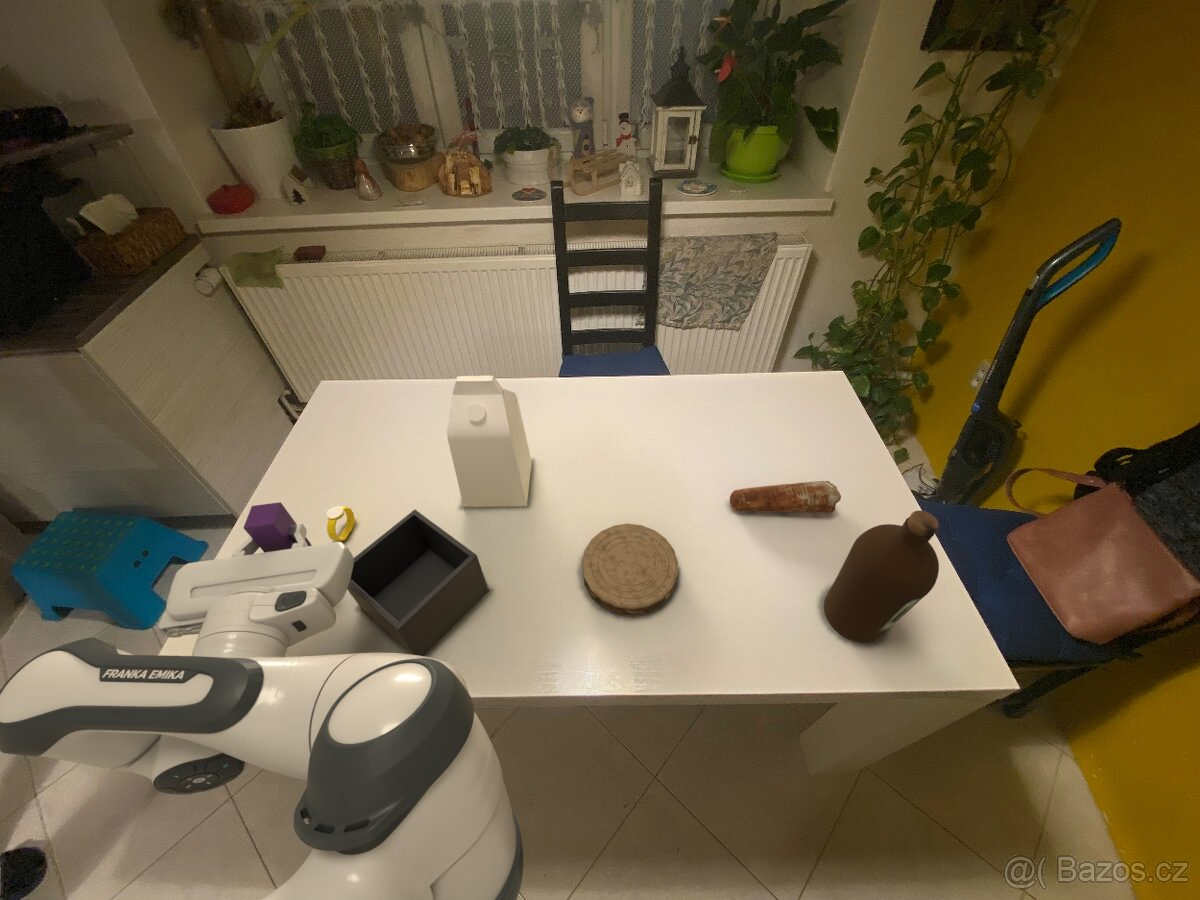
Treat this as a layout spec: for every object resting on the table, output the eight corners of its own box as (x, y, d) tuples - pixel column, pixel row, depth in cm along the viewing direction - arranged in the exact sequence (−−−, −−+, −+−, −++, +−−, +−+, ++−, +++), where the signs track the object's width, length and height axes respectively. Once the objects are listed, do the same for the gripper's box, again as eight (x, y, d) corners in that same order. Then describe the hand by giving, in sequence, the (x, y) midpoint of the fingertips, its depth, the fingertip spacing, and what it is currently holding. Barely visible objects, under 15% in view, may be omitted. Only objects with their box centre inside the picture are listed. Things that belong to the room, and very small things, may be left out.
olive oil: (806, 615, 80) (864, 521, 63) (837, 572, 86) (899, 474, 68) (872, 662, 75) (955, 574, 57) (901, 613, 81) (985, 519, 63)
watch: (346, 547, 90) (333, 527, 86) (331, 545, 91) (317, 526, 86) (361, 520, 94) (349, 500, 90) (347, 518, 95) (335, 498, 90)
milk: (531, 461, 104) (515, 356, 86) (526, 505, 96) (507, 400, 78) (473, 462, 104) (444, 358, 86) (463, 507, 96) (429, 402, 78)
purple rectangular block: (306, 566, 71) (273, 523, 64) (279, 570, 71) (243, 528, 64) (312, 545, 74) (280, 501, 67) (285, 548, 73) (251, 505, 66)
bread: (834, 519, 93) (844, 500, 89) (730, 517, 94) (735, 498, 90) (825, 492, 98) (834, 473, 94) (725, 491, 98) (730, 472, 94)
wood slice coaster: (563, 582, 85) (562, 572, 83) (617, 519, 94) (617, 509, 92) (643, 635, 78) (644, 627, 76) (693, 562, 87) (695, 553, 85)
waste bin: (418, 661, 76) (397, 630, 68) (360, 607, 82) (334, 572, 74) (489, 590, 84) (477, 555, 76) (431, 546, 90) (414, 509, 83)
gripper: (169, 651, 60) (211, 554, 70) (348, 623, 63) (364, 532, 72) (134, 628, 56) (184, 527, 66) (328, 598, 58) (349, 504, 68)
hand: (280, 529), depth 69 cm, fingers closed on purple rectangular block, 3 cm apart
